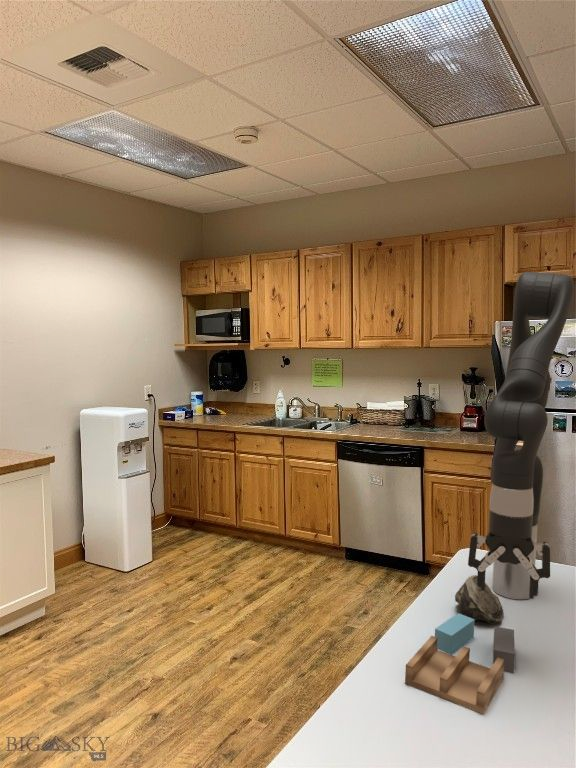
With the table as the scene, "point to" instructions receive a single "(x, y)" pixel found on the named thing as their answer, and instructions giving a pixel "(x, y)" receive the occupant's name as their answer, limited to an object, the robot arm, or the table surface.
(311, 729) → the table surface
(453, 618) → the tall teal pillar
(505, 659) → the dark gray block
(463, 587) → the brown rock
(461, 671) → the block
